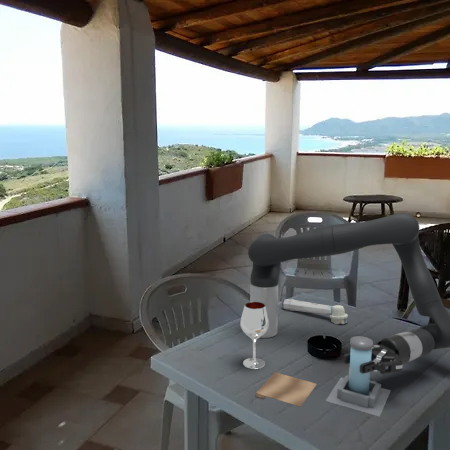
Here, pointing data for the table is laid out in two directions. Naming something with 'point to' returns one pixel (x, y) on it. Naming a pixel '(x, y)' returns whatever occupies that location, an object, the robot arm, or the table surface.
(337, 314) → the toothbrush head
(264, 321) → the wineglass
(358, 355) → the filter cartridge
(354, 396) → the cartridge housing
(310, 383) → the light brown wooden board
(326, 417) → the table surface
